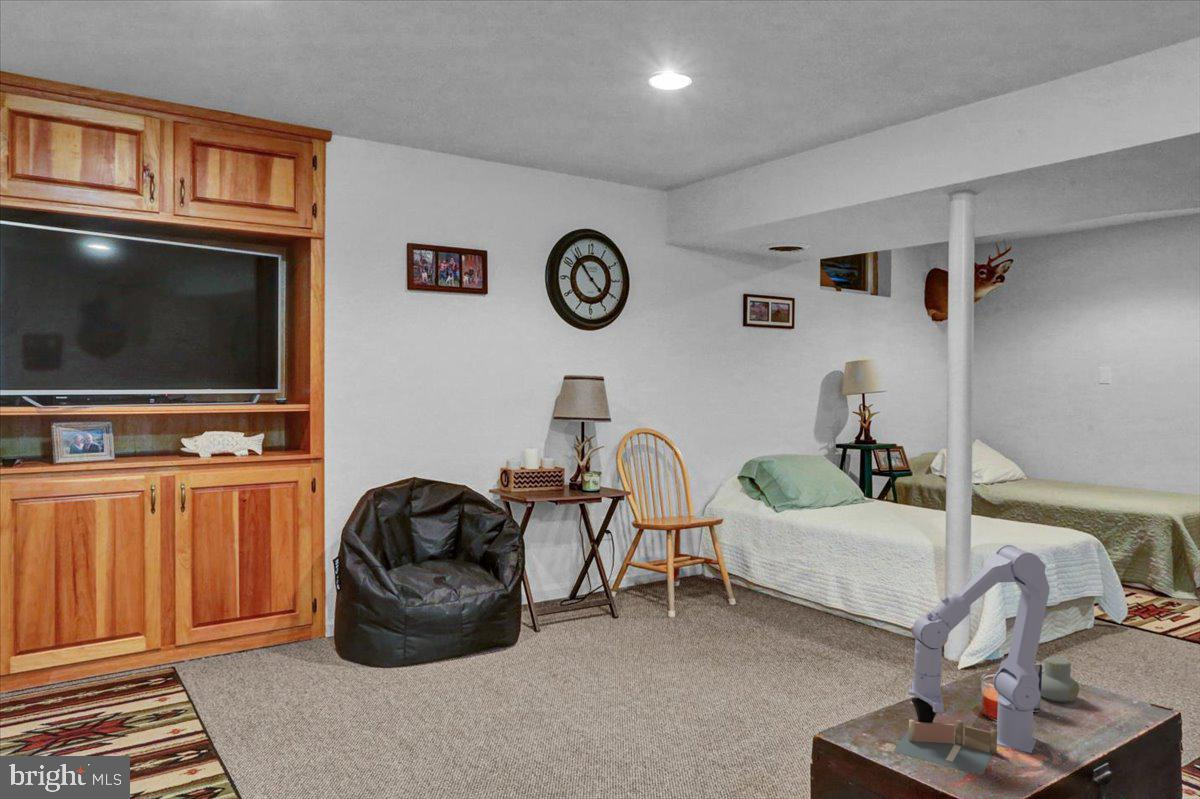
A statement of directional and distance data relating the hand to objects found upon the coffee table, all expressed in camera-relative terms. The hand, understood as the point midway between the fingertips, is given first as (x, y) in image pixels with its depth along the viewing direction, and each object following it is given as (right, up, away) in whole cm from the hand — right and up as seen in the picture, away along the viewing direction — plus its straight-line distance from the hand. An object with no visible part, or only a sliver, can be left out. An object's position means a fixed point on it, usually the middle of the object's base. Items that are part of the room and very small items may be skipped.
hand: (925, 732), depth 190 cm
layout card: (+2, -2, -5) cm, 6 cm away
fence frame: (+10, -2, -4) cm, 11 cm away
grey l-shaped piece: (+45, -3, +29) cm, 54 cm away
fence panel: (+1, -2, -1) cm, 2 cm away
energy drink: (+34, -3, +21) cm, 40 cm away
